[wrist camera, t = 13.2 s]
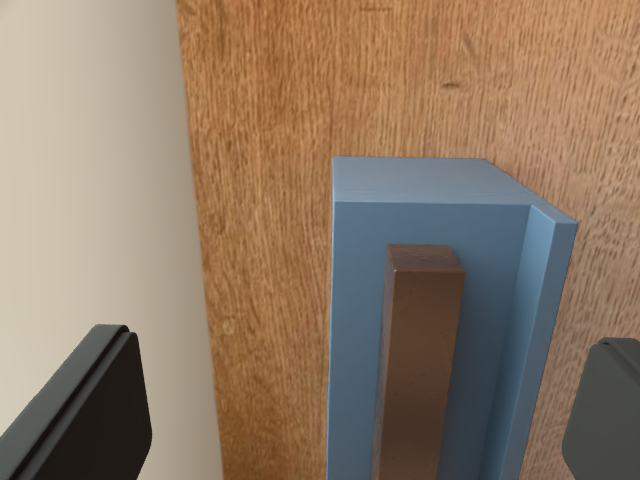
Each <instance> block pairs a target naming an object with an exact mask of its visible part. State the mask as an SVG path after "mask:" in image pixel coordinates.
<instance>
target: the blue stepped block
mask: <svg viewBox="0 0 640 480" xmlns="http://www.w3.org/2000/svg"><path fill="white" fill-rule="evenodd" d="M332 203H333V229H332V270H331V310H330V351H329V383H328V384H327V452H326V480H370V466H371V452H372V438H373V424H374V410H375V396H376V382H377V368H378V354H379V340H380V326H381V312H382V298H383V284H384V270H385V256H386V245H387V244H428V245H449V246H450V248H451V249H452V251H453V252H454V254H455V256H456V257H457V259H458V260H459V262H460V264H461V265H462V267H463V268H464V270H465V272H466V275H465V282H464V288H463V295H462V302H461V309H460V316H459V323H458V330H457V337H456V344H455V351H454V358H453V365H452V371H451V378H450V385H449V392H448V399H447V406H446V413H445V420H444V427H443V434H442V441H441V448H440V454H439V461H438V468H437V475H436V480H518V478H519V474H520V470H521V466H522V461H523V457H524V453H525V449H526V444H527V440H528V436H529V432H530V427H531V423H532V419H533V415H534V410H535V406H536V402H537V398H538V393H539V389H540V385H541V381H542V376H543V372H544V368H545V364H546V359H547V355H548V351H549V347H550V342H551V338H552V334H553V330H554V325H555V321H556V317H557V313H558V308H559V304H560V300H561V296H562V291H563V287H564V283H565V279H566V274H567V270H568V266H569V262H570V257H571V253H572V249H573V245H574V240H575V236H576V232H577V228H578V222H577V221H575V220H574V219H572V218H571V217H569V216H568V215H566V214H565V213H563V212H562V211H560V210H559V209H557V208H556V207H554V206H553V205H551V204H550V203H548V202H547V201H545V200H544V199H542V198H541V197H539V196H538V195H537V194H535V193H534V192H532V191H531V190H529V189H528V188H526V187H525V186H524V185H522V184H521V183H519V182H518V181H516V180H515V179H513V178H512V177H510V176H509V175H507V174H506V173H504V172H503V171H501V170H500V169H498V168H497V167H495V166H494V165H493V164H491V163H490V162H488V161H487V160H485V159H471V158H412V157H354V156H333V161H332Z"/></svg>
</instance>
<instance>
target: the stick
mask: <svg viewBox="0 0 640 480" xmlns="http://www.w3.org/2000/svg"><path fill="white" fill-rule="evenodd" d="M465 275H466V272H465V270H464V268H463V267H462V265H461V264H460V262H459V260H458V259H457V257H456V256H455V254H454V252H453V251H452V249H451V248H450V246H449V245H428V244H387V245H386V256H385V270H384V284H383V298H382V312H381V326H380V340H379V354H378V368H377V382H376V396H375V410H374V424H373V438H372V452H371V466H370V480H436V475H437V468H438V461H439V454H440V448H441V441H442V434H443V427H444V420H445V413H446V406H447V399H448V392H449V385H450V378H451V371H452V365H453V358H454V351H455V344H456V337H457V330H458V323H459V316H460V309H461V302H462V295H463V288H464V282H465Z"/></svg>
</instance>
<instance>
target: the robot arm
mask: <svg viewBox="0 0 640 480" xmlns="http://www.w3.org/2000/svg"><path fill="white" fill-rule="evenodd" d="M151 441H152V428H151V422H150V415H149V408H148V403H147V395H146V389H145V383H144V375H143V369H142V362H141V355H140V348H139V342H138V337H137V334H136V333H134V332H130V331H129V329H128V327H127V326H126V325H105V324H104V325H102V324H98V325H95V326H94V327H93V328H92V329H91V330H90V331H89V333H88V334H87V335H86V336H85V337H84V339H83V340H82V341H81V342H80V344H79V345H78V346H77V347H76V348H75V349H74V351H73V352H72V353H71V354H70V356H69V357H68V358H67V359H66V360H65V361H64V363H63V364H62V365H61V366H60V368H59V369H58V370H57V371H56V372H55V374H54V375H53V376H52V377H51V378H50V380H49V381H48V382H47V383H46V384H45V386H44V387H43V388H42V389H41V390H40V392H39V393H38V394H37V395H36V396H35V397H34V398H33V399H32V400H31V402H29V404H28V405H27V406H26V407H25V409H24V410H23V411H22V412H21V413H20V414H19V416H18V417H17V418H16V419H15V421H14V422H13V423H12V424H11V425H10V426H9V428H8V429H7V430H6V431H5V432H4V434H3V435H2V436H1V437H0V480H137V478H138V475H139V473H140V471H141V468H142V466H143V464H144V461H145V459H146V457H147V455H148V452H149V449H150V446H151ZM562 454H563V457H564V460H565V462H566V464H567V466H568V467H569V469H570V471H571V473H572V474H573V476H574V478H575V479H576V480H640V342H639V341H638V340H636V339H633V338H608V337H605V338H602V339H600V340H599V341H598V343H597V344H595V345H593V346H592V347H591V348H590V350H589V353H588V356H587V360H586V363H585V367H584V370H583V373H582V377H581V380H580V383H579V387H578V390H577V393H576V397H575V400H574V404H573V407H572V410H571V414H570V417H569V420H568V424H567V427H566V430H565V434H564V437H563V440H562Z"/></svg>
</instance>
